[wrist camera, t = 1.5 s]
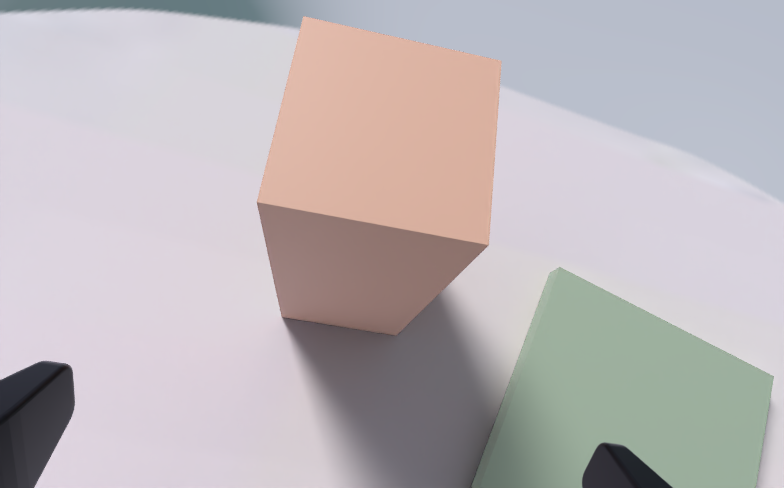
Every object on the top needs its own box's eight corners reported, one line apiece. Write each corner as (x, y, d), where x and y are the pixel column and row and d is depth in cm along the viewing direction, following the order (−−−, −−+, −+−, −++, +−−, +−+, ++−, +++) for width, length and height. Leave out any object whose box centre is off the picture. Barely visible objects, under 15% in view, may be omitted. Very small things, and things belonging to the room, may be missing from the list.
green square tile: (755, 378, 24) (773, 376, 23) (710, 633, 20) (730, 644, 19) (549, 273, 24) (559, 266, 23) (463, 506, 20) (471, 510, 19)
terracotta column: (410, 230, 24) (501, 60, 13) (396, 335, 22) (488, 244, 11) (304, 211, 23) (303, 16, 12) (281, 316, 22) (256, 201, 10)
